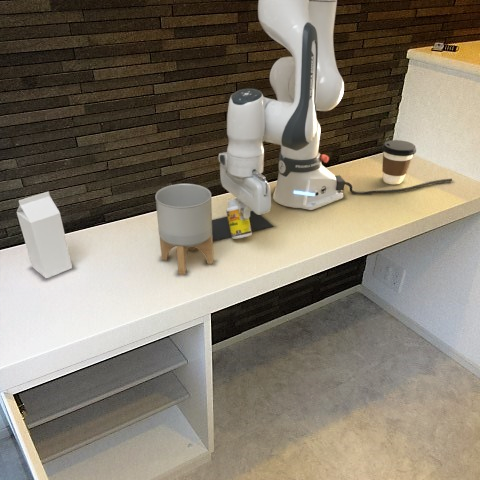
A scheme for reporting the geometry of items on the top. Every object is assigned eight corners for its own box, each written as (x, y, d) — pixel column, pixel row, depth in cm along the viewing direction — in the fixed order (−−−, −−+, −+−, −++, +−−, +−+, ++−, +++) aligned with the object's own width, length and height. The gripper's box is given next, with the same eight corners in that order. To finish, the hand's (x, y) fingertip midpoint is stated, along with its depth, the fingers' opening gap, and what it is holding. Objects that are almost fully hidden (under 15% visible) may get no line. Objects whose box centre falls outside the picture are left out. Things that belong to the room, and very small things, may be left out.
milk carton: (72, 268, 123) (56, 196, 111) (46, 279, 119) (26, 205, 107) (58, 257, 127) (41, 186, 115) (32, 267, 123) (11, 195, 111)
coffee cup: (378, 186, 164) (385, 150, 157) (373, 174, 173) (379, 139, 165) (412, 187, 164) (420, 151, 157) (404, 174, 173) (412, 139, 165)
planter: (155, 272, 122) (148, 204, 111) (168, 246, 132) (163, 181, 121) (207, 276, 121) (205, 209, 110) (217, 249, 131) (215, 185, 120)
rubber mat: (254, 211, 149) (254, 210, 149) (273, 226, 142) (273, 225, 141) (192, 225, 142) (192, 224, 141) (209, 242, 134) (209, 241, 134)
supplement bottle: (228, 240, 135) (220, 202, 133) (244, 236, 137) (237, 198, 135) (239, 238, 130) (231, 199, 128) (256, 234, 133) (248, 195, 131)
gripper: (279, 176, 114) (275, 230, 123) (237, 148, 129) (236, 198, 137) (255, 181, 112) (253, 236, 121) (215, 152, 126) (216, 203, 135)
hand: (244, 215), depth 129 cm, fingers closed
